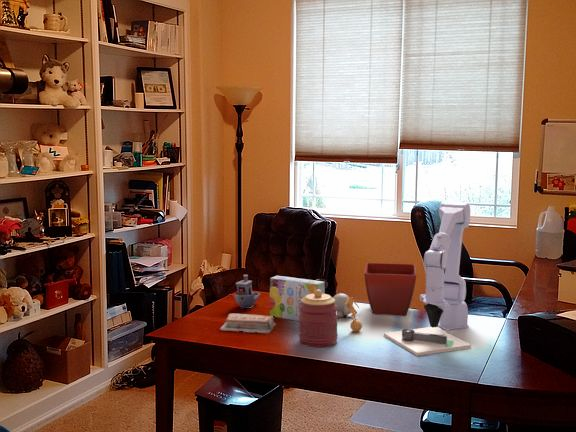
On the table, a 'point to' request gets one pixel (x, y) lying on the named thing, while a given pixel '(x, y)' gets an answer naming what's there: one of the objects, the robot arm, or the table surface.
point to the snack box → (290, 295)
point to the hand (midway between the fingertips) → (433, 326)
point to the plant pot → (390, 287)
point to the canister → (318, 320)
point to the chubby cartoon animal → (341, 304)
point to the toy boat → (246, 293)
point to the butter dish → (249, 323)
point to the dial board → (424, 346)
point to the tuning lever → (422, 336)
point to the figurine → (353, 315)
